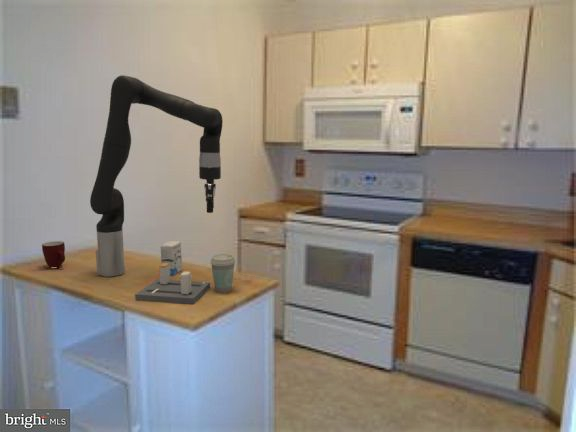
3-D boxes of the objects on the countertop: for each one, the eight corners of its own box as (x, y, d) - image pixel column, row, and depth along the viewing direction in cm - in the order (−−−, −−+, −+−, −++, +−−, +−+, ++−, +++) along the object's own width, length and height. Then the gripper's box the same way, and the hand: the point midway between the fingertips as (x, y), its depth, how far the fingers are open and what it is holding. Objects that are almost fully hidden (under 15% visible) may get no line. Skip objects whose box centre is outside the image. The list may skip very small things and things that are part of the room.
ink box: (173, 275, 171) (171, 246, 168) (161, 275, 172) (159, 245, 169) (182, 269, 179) (181, 241, 177) (171, 268, 180) (170, 240, 178)
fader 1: (160, 283, 154) (159, 265, 153) (164, 281, 157) (163, 263, 156) (166, 284, 154) (165, 266, 152) (170, 281, 157) (169, 263, 156)
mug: (75, 266, 181) (73, 243, 180) (58, 272, 174) (55, 247, 172) (57, 263, 186) (55, 240, 184) (39, 268, 178) (37, 244, 177)
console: (135, 300, 145) (135, 294, 145) (157, 284, 160) (157, 278, 160) (193, 304, 142) (193, 297, 141) (210, 287, 157) (210, 282, 157)
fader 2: (181, 293, 144) (180, 274, 143) (185, 290, 148) (184, 271, 146) (187, 294, 144) (187, 274, 143) (191, 290, 147) (190, 271, 146)
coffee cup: (225, 296, 149) (224, 261, 147) (205, 291, 154) (205, 257, 152) (240, 288, 156) (240, 255, 154) (222, 284, 161) (221, 252, 159)
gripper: (200, 164, 163) (200, 207, 166) (198, 166, 149) (198, 214, 152) (220, 164, 164) (220, 207, 167) (220, 167, 151) (220, 214, 153)
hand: (210, 210), depth 160 cm, fingers open, 8 cm apart
